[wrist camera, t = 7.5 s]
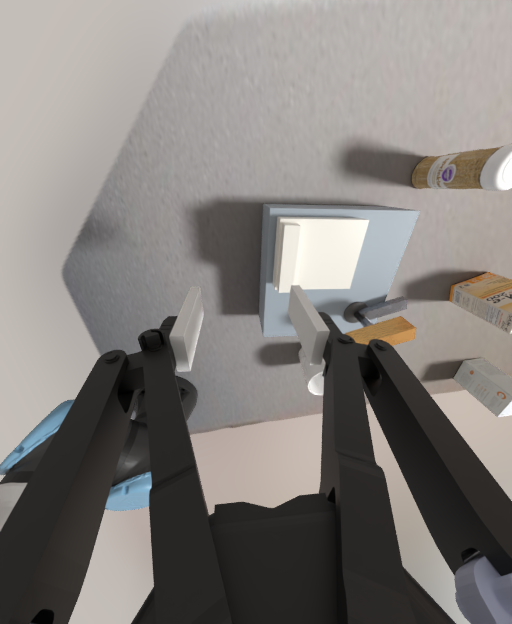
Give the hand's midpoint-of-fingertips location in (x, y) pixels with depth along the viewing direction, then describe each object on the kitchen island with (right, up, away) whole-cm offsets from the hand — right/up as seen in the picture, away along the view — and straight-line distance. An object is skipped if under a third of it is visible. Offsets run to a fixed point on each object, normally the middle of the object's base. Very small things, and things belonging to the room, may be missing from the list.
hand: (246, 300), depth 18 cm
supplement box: (+49, +5, +30) cm, 58 cm away
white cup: (+15, -11, +36) cm, 41 cm away
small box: (+66, -18, +45) cm, 82 cm away
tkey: (+21, -1, +20) cm, 29 cm away
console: (+13, +8, +24) cm, 28 cm away
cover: (+10, +8, +14) cm, 19 cm away
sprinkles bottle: (+29, +22, +17) cm, 40 cm away
